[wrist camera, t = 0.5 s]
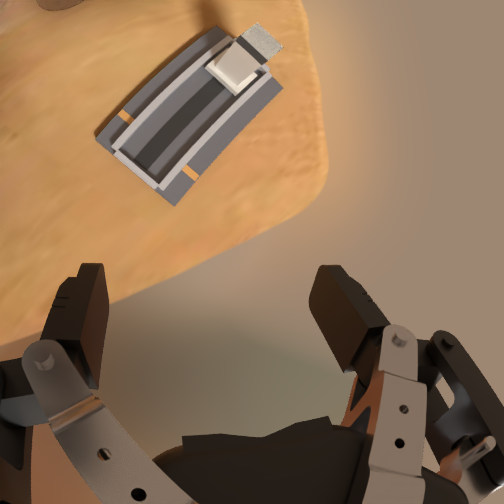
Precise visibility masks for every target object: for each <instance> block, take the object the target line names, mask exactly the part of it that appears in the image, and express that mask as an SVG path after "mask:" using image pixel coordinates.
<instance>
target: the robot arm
mask: <svg viewBox="0 0 504 504" xmlns="http://www.w3.org/2000/svg"><path fill="white" fill-rule="evenodd" d="M82 1H83V0H37V2H38V4H39V6H41V7H42V8H43V9H46V10H53V11H54V10H62V9H66V8H69V7H72V6H74V5H76V4H78V3H80V2H82ZM309 308H310V311H311V313H312V315H313V317H314V319H315V320H316V322H317V324H318V326H319V328H320V330H321V332H322V333H323V335H324V337H325V339H326V341H327V343H328V345H329V347H330V349H331V350H332V352H333V354H334V356H335V358H336V360H337V362H338V363H339V366H340V367H341V369H342V371H343V373H347V372H352V371H356V373H357V375H356V377H355V378H354V382H353V386H352V389H351V393H350V397H349V401H348V405H347V408H346V412H345V416H344V418H343V421H342V422H341V425H332V424H331V421H330V419H329V417H328V416H326V417H321V418H317V419H312V420H308V421H303V422H298V423H295V424H293V425H291V426H289V427H286V428H284V429H282V430H279V431H277V432H275V433H272V434H270V435H268V436H265V437H247V436H237V435H228V434H210V435H194V436H182V443H183V445H181V446H178V447H174V448H172V449H170V450H167V451H165V452H163V453H161V454H160V455H158V456H156V457H155V458H154V459H152V460H151V459H150V458H149V457H148V456H147V455H146V454H145V453H144V451H143V450H142V449H141V448H140V447H139V446H138V445H137V444H136V443H135V442H134V440H133V439H132V438H131V437H130V436H129V435H128V433H127V432H126V431H125V430H124V429H123V427H122V426H121V425H120V424H119V423H118V421H117V420H116V419H115V418H114V416H113V415H112V414H111V413H110V411H109V410H108V409H107V407H106V406H105V405H104V404H103V402H102V401H101V400H100V399H99V398H96V397H95V396H94V395H93V393H92V392H91V391H90V389H97V390H98V388H99V378H100V369H101V360H102V354H103V347H104V340H105V334H106V328H107V322H108V316H109V298H108V292H107V285H106V279H105V272H104V266H103V264H102V263H82V264H81V266H80V269H79V271H78V274H77V277H68V278H67V279H66V280H65V281H64V282H63V283H62V284H61V285H60V286H59V289H58V291H57V294H56V296H55V299H54V301H53V304H52V308H51V309H50V312H49V315H48V317H47V320H46V323H45V326H44V329H43V332H42V335H41V338H40V340H39V341H36V342H34V343H32V344H31V345H30V346H29V347H28V348H27V349H26V350H25V351H24V353H23V357H21V358H17V359H12V360H7V361H1V362H0V504H31V450H32V435H33V425H38V424H44V423H49V422H50V424H49V425H50V428H51V430H52V432H53V434H54V435H55V437H56V439H57V440H58V442H59V444H60V445H61V447H62V448H63V450H64V451H65V453H66V455H67V456H68V458H69V459H70V461H71V462H72V464H73V465H74V467H75V468H76V469H77V471H78V472H79V473H80V475H81V476H82V478H83V479H84V480H85V482H86V483H87V485H88V486H89V487H90V488H91V490H92V491H93V492H94V494H95V495H96V496H97V497H98V498H99V500H100V501H101V502H102V503H103V504H478V503H479V502H480V501H482V500H483V499H484V498H485V497H487V496H488V495H489V494H490V493H492V492H494V491H496V490H497V489H499V488H501V487H502V486H504V407H503V405H502V403H501V402H500V400H499V399H498V397H497V395H496V394H495V392H494V391H493V389H492V388H491V386H490V385H489V383H488V382H487V380H486V379H485V377H484V376H483V374H482V373H481V371H480V370H479V368H478V367H477V366H476V364H475V363H474V361H473V360H472V359H471V357H470V356H469V354H468V353H467V352H466V351H465V349H464V347H463V346H462V345H461V343H460V342H459V341H458V340H457V338H456V337H455V336H453V335H452V334H450V333H449V332H446V331H442V330H439V331H436V332H435V333H434V334H433V336H432V337H431V339H430V340H420V339H416V338H415V336H414V335H413V334H412V332H411V331H409V330H408V329H406V328H405V327H402V326H399V325H391V324H390V322H389V321H388V320H387V318H386V317H385V316H384V314H383V313H382V312H381V310H380V309H379V308H378V307H377V305H376V304H375V302H373V300H372V299H371V297H370V296H369V295H367V292H366V291H365V289H364V288H363V287H362V285H361V284H359V283H358V282H357V281H355V280H354V279H353V278H351V277H349V276H348V274H347V273H346V272H345V271H344V269H343V268H342V267H341V266H340V265H321V266H320V267H319V269H318V272H317V274H316V277H315V281H314V284H313V287H312V290H311V293H310V296H309ZM441 377H444V379H445V380H446V382H447V383H448V385H449V387H450V388H451V390H452V391H453V393H454V397H455V400H454V404H453V405H452V407H451V408H450V409H449V408H448V406H447V404H446V403H445V401H444V399H443V397H442V396H441V394H440V393H439V391H438V389H437V388H436V386H435V385H436V384H437V382H438V381H439V380H440V379H441ZM425 437H426V439H427V441H428V443H429V445H430V447H431V449H432V451H433V453H434V455H435V457H436V460H437V462H438V464H439V466H440V471H438V472H437V473H435V472H433V471H431V470H429V469H427V468H425V467H423V466H422V459H423V449H424V439H425Z"/></svg>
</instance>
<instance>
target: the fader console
mask: <svg viewBox="0 0 504 504" xmlns="http://www.w3.org/2000/svg"><path fill="white" fill-rule="evenodd" d="M236 40H237V37H235V38H234V39H233V38H232V37H231V36H229V35H227V34H226V33H225V32H224V31H222V30H221V29H220V28H219V27H218V26H217V25H216V26H215V27H214V28H212V29H211V30H210V31H208V32H207V33H206V34H204V35H203V36H202V37H200V38H199V39H198V40H197V41H195V42H194V43H193V44H192V45H190V46H189V47H188V48H187V49H185V50H184V51H183V52H182V53H181V54H179V55H178V56H177V57H176V58H175V59H173V60H172V61H171V62H170V63H169V64H168V65H167V66H165V67H164V68H163V69H162V70H161V71H160V72H159V73H158V74H157V75H156V76H154V77H153V78H152V79H151V80H150V81H149V82H148V83H147V84H146V85H145V86H144V87H143V88H142V89H141V90H140V91H139V92H138V93H137V94H136V95H135V96H134V97H133V98H132V99H131V100H130V101H129V102H128V103H127V104H126V105H125V106H124V107H123V108H122V109H121V110H120V111H119V112H118V114H117V115H116V116H115V117H114V118H113V119H112V120H111V121H110V122H109V123H108V125H107V126H106V127H105V128H104V129H103V130H102V131H101V133H100V134H99V135H98V136H97V137H96V139H95V140H96V141H97V142H98V143H100V144H101V145H102V146H103V147H104V148H105V149H107V150H108V151H109V152H110V153H111V154H112V155H114V156H115V157H116V158H117V159H118V160H120V161H121V162H122V163H123V164H124V165H125V166H127V167H128V168H129V169H130V170H131V171H132V172H134V173H135V174H136V175H137V176H138V177H140V178H141V179H142V180H143V181H144V182H145V183H147V184H148V185H149V186H150V187H151V188H153V189H154V190H155V191H156V192H157V193H159V194H160V195H161V196H162V197H163V198H165V199H166V200H167V201H168V202H169V203H170V204H172V205H173V206H174V207H175V206H176V204H177V203H178V202H179V201H180V199H181V198H182V197H183V196H184V195H185V193H186V192H187V191H188V190H189V189H190V188H191V186H192V185H193V184H194V183H195V182H196V181H197V179H198V178H199V177H200V176H201V175H202V174H203V172H204V171H205V170H206V169H207V168H208V167H209V166H210V164H211V163H212V162H213V161H214V160H215V159H216V158H217V157H218V156H219V154H220V153H221V152H222V151H223V150H224V149H225V148H226V147H227V146H228V145H229V143H230V142H231V141H232V140H233V139H234V138H235V137H236V136H237V135H238V134H239V133H240V132H241V131H242V130H243V129H244V127H245V126H246V125H247V124H248V123H249V122H250V121H251V120H252V119H253V118H254V117H255V116H256V115H257V114H258V113H259V112H260V111H261V110H262V109H263V108H264V107H265V106H266V105H267V104H268V103H269V102H270V101H271V100H272V99H273V98H274V97H275V96H276V95H277V94H278V93H279V92H280V91H281V90H282V89H283V87H282V86H281V85H280V84H279V83H278V82H277V81H276V80H275V79H274V78H273V77H272V75H271V74H270V73H269V72H268V71H269V70H270V68H269V67H268V66H267V65H266V64H265V63H264V64H263V65H262V66H261V67H259V68H258V69H257V70H256V71H254V72H255V73H256V74H257V75H258V76H257V77H256V78H254V79H253V80H252V81H251V82H250V83H249V84H248V85H247V86H246V87H245V88H244V89H243V90H241V91H240V92H239V93H238V94H237V95H236V96H235V95H234V94H232V93H231V92H230V91H229V90H228V89H227V88H226V87H225V86H224V85H223V84H222V83H221V82H220V81H218V80H217V79H216V78H215V77H214V76H213V75H212V74H211V73H209V72H208V71H207V70H206V69H205V67H206V66H207V65H208V64H209V63H210V62H211V61H212V60H214V59H215V58H216V57H217V56H218V55H220V54H221V53H222V52H223V51H224V50H226V49H227V48H230V47H231V46H232V44H233V43H234V42H235V41H236Z"/></svg>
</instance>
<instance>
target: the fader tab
mask: <svg viewBox="0 0 504 504" xmlns="http://www.w3.org/2000/svg"><path fill="white" fill-rule="evenodd" d="M282 48H284V47H283V46H282V45H281V44H280V43H279V42H278V41H277V40H276V39H274V38H273V37H272V36H271V35H270V34H269V33H268V32H267V31H266V30H265V29H264V28H263V27H262V26H261V25H259V24H258V23H256V24H255V25H253V26H252V27H250V28H249V29H248V30H246V31H245V32H244V33H242V34H241V35H240V36H239V37H238V38H237V40H236V41H235V42H234V43H233V44H232V46H231V47H230V48H227V49H226V50H224V51H223V52H222V53H221V54H220V55H218V56H217V57H216V58H215V59H214V60H212V61H211V62H210V63H209V64H208V65H207V66H206V67H205V69H206V70H207V71H208V72H209V73H211V74H212V75H213V76H214V77H215V78H216V79H217V80H218V81H220V82H221V83H222V84H223V85H224V86H225V87H226V88H227V89H228V90H229V91H230V92H231V93H232V94H234V95H235V96H236V95H237V94H238V93H239V92H240V91H241V90H243V89H244V88H245V87H246V86H247V85H248V84H249V83H250V82H251V81H252V80H253V79H254V78H256V77H257V76H258V75H257V74H256V73H255V72H254V71H256V70H257V69H258V68H259V67H261V66H262V65H263V64H264V63H266V62H267V61H268V60H269V59H270V58H272V57H273V56H274V55H275V54H276V53H278V52H279V51H280V50H281V49H282Z"/></svg>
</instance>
